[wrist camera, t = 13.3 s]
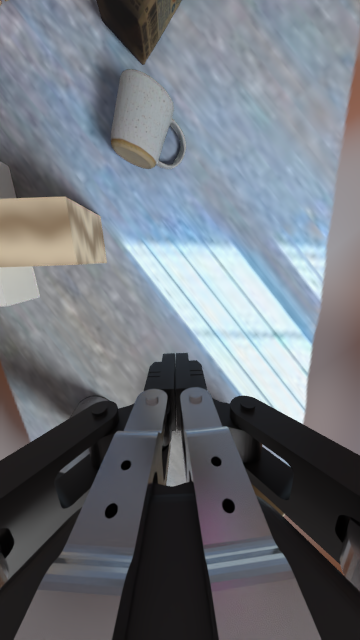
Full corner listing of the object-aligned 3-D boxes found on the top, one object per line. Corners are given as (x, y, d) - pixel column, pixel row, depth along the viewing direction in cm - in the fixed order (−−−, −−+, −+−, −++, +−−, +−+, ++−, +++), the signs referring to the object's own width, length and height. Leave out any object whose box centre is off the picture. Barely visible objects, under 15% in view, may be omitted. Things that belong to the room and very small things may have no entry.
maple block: (106, 262, 38) (76, 264, 27) (32, 265, 38) (-29, 268, 27) (100, 216, 36) (65, 196, 25) (21, 219, 36) (-51, 200, 24)
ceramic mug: (115, 160, 34) (99, 133, 26) (128, 101, 31) (114, 54, 24) (176, 184, 35) (177, 165, 28) (192, 129, 33) (197, 92, 25)
